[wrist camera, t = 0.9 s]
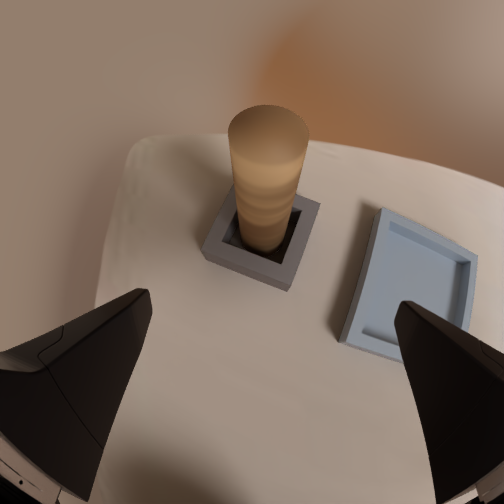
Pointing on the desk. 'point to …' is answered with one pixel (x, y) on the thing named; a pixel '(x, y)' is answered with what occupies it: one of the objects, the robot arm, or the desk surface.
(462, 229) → the desk surface
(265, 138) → the dowel
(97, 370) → the robot arm
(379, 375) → the desk surface
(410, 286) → the tray
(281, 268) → the socket collar
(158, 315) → the desk surface
